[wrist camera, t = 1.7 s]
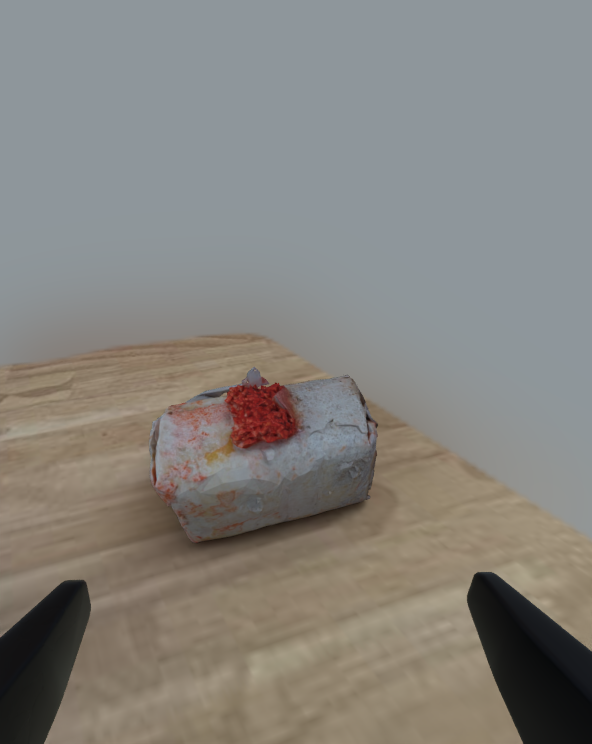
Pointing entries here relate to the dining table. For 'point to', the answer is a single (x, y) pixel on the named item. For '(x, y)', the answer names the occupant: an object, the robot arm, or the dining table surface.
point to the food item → (263, 454)
